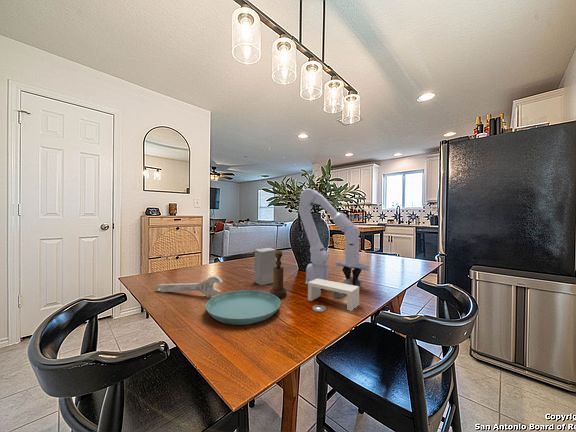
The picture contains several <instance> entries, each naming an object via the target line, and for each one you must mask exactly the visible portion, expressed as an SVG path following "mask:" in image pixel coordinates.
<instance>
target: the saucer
mask: <svg viewBox="0 0 576 432" xmlns="http://www.w3.org/2000/svg"><path fill="white" fill-rule="evenodd" d="M280 306H281V299H279V298H278V297H276V296H275V295H273V294H270V292H267V291H261V290H253V289H252V290H250V289H249V290H246V289H245V290H241V289H240V290H233V291H227V292H224V293H219V294H217V295H214V296H213V297H211V298H210V299H208V300H207V302H206V303H205V309H206V311H207V313H208V315H210V316H211V317H212V318H213V319H215V320H216V321H218V322H221V323H223V324H227V325H237V326H238V325H240V326H242V325H243V326H244V325H252V324H256V323H260V322H263V321H266V320H267V319H269V318H271V317H272V316H273V315H274V314H276V312H277V311H278V310H279V308H280Z"/></svg>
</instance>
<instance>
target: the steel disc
mask: <svg viewBox="0 0 576 432" xmlns="http://www.w3.org/2000/svg"><path fill="white" fill-rule="evenodd" d="M325 310H327V308H326V306H324V305H322V304H314V305H312V311H314V312H316V313H324V312H326V311H325Z"/></svg>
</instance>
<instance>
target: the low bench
mask: <svg viewBox="0 0 576 432" xmlns="http://www.w3.org/2000/svg"><path fill="white" fill-rule="evenodd" d="M321 289H323V290H327V291H331V292H334V291H335V292H340V293H344V294H345V295H346V296H347V297H346V298H347V299H346V301H347V303H346V305H347V306H346V307H347V308H346V310H350V311H349V312H351V311H352V310H353V309H354V308H355V309H357V308H358V307H359V306H360V287H359V286H354V285H349V284H344V283H341V282H337V281H332V280H328V279H327V280H323V279H318V278H317V279H315V280H312V281H310V282H308V284H307V301H309V302H312V301H314V300H316V299H317V298H319V297H321V294H322V293H321V292H322V290H321ZM358 305H359V306H358ZM357 306H358V307H357ZM355 309H354V310H355ZM354 310H353V311H354ZM353 311H352V312H353Z"/></svg>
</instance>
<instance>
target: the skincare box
mask: <svg viewBox="0 0 576 432" xmlns="http://www.w3.org/2000/svg"><path fill="white" fill-rule="evenodd" d="M276 251H277V250H276V249H275V248H271V247H266V248H265V247H264V248H263V247H262V248H254V283H256V284H257V285H259V286H264V285H269V284H273V268H274V267H276V261H277V258H276V256H275V252H276Z"/></svg>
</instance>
